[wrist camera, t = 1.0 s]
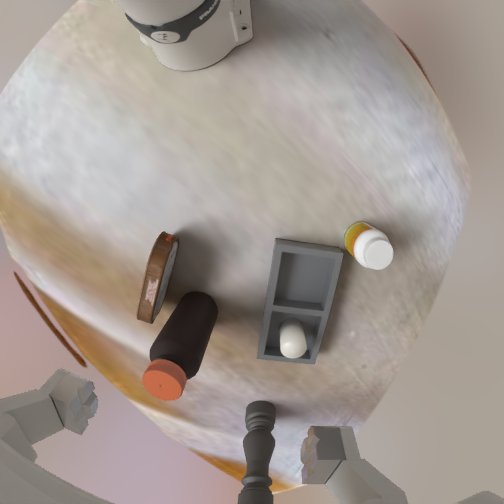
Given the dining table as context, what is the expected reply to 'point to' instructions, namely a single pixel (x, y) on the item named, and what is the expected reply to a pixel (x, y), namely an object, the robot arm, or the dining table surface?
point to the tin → (157, 277)
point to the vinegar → (180, 346)
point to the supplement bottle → (368, 245)
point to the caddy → (299, 295)
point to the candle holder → (258, 453)
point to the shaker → (292, 338)
